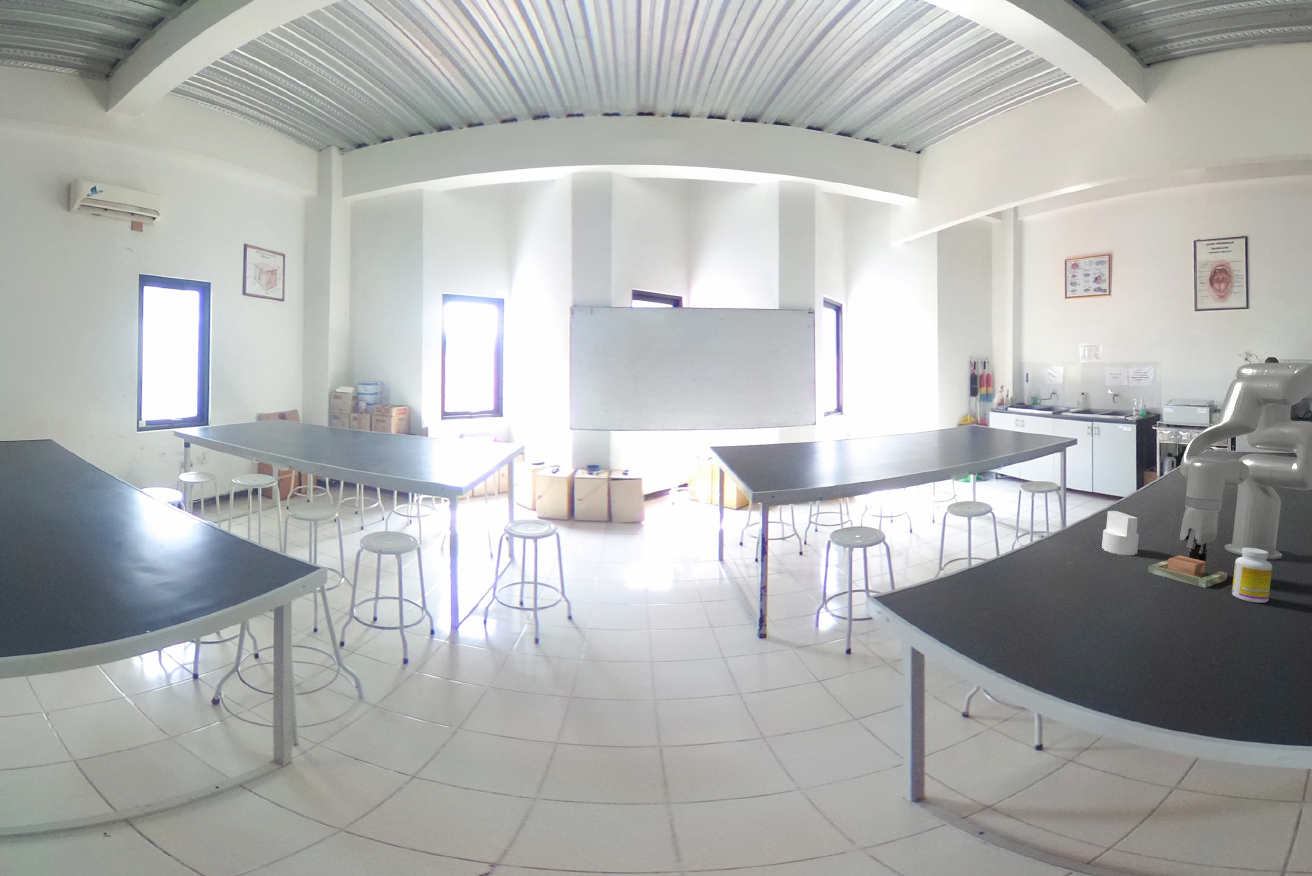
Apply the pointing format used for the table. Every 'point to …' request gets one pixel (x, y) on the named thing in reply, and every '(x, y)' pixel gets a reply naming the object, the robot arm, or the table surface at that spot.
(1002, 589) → the table surface
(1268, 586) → the supplement bottle
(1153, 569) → the walled lane
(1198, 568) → the terracotta block
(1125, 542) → the base with upright slab
